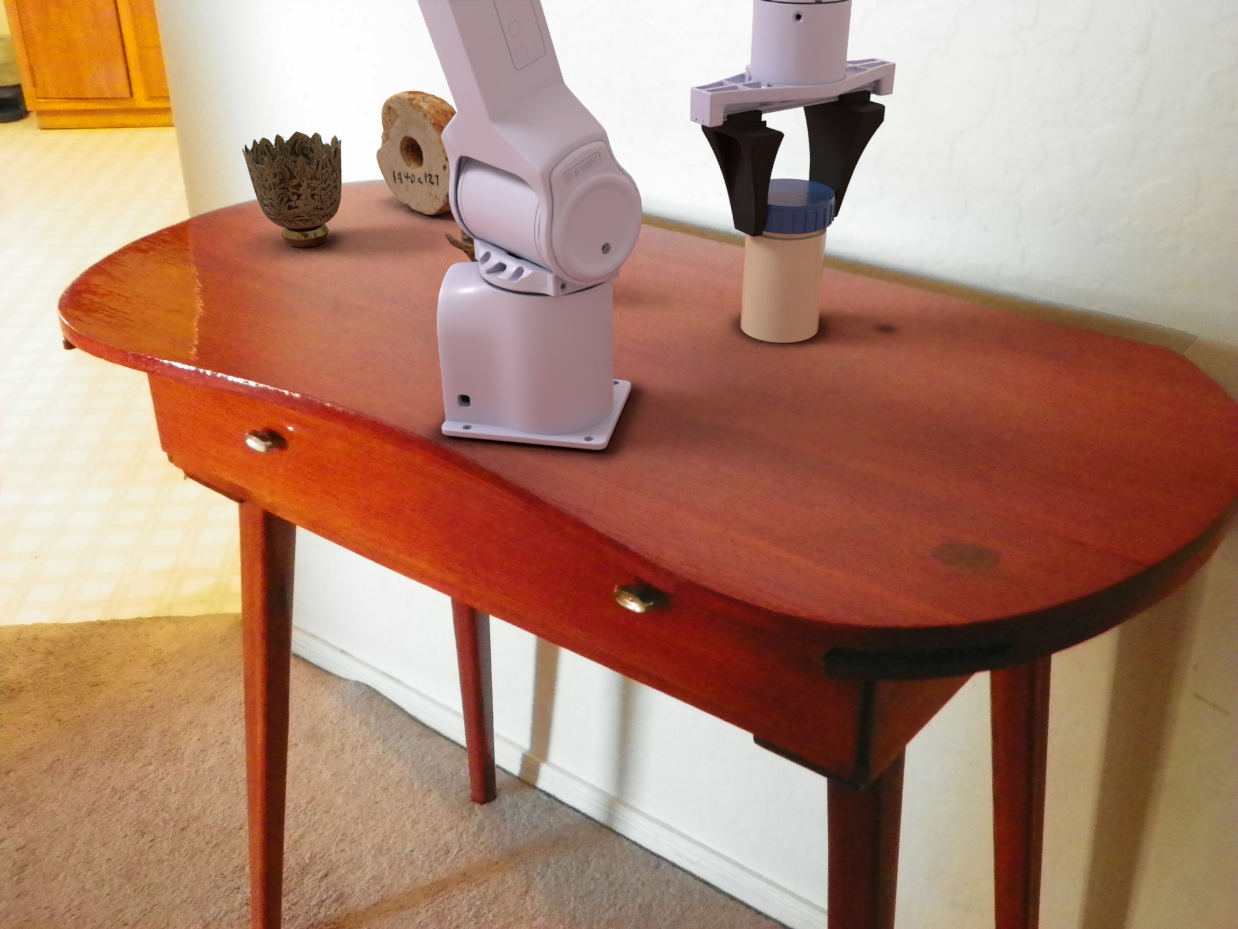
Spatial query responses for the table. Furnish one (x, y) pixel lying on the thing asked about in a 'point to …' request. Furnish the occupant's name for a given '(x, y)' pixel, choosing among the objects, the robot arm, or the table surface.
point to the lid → (799, 206)
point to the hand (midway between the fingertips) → (787, 222)
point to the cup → (297, 184)
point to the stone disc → (416, 150)
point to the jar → (782, 285)
